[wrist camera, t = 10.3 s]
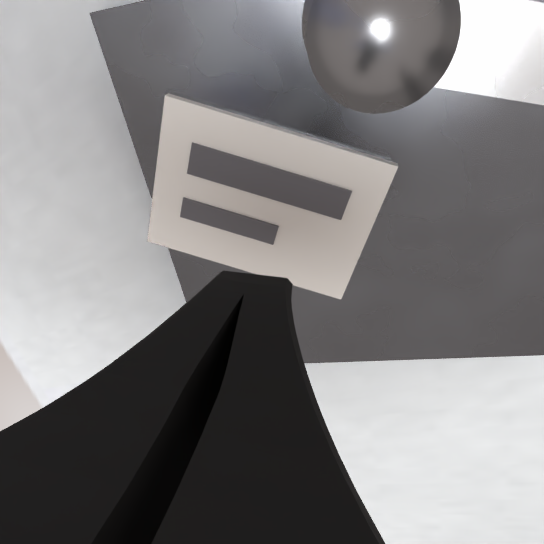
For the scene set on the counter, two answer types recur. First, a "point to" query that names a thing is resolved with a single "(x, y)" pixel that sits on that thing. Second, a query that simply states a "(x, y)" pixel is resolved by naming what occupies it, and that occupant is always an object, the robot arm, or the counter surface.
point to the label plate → (263, 196)
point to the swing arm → (425, 50)
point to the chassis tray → (374, 141)
